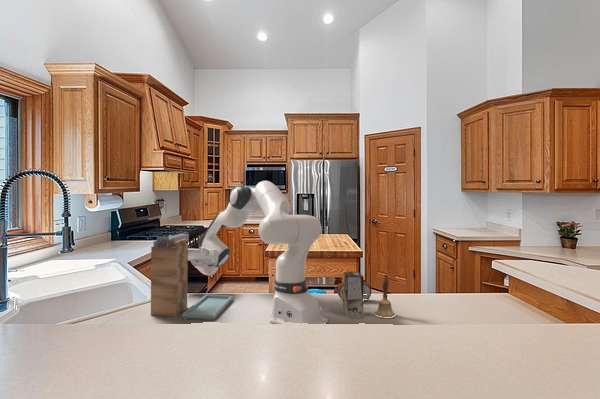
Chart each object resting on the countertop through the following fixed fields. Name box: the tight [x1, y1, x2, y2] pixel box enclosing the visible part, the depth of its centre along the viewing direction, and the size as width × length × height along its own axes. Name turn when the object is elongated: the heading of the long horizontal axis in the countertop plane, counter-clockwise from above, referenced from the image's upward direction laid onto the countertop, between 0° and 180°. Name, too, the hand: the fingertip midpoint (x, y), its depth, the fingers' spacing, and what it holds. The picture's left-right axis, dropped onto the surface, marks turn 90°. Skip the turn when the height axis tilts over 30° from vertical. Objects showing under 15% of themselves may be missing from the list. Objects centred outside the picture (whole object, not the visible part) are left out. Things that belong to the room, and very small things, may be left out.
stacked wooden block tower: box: [150, 239, 189, 317], centre depth 133 cm, size 10×10×28 cm
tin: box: [337, 281, 372, 301], centre depth 151 cm, size 15×3×8 cm, turn 93°
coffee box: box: [342, 271, 365, 319], centre depth 134 cm, size 9×6×16 cm
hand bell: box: [374, 273, 396, 317], centre depth 134 cm, size 8×8×16 cm
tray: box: [181, 294, 233, 321], centre depth 137 cm, size 24×12×2 cm, turn 175°
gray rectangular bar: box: [156, 233, 190, 248], centre depth 137 cm, size 20×4×4 cm, turn 175°
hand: (190, 248), depth 153 cm, fingers open, 8 cm apart
